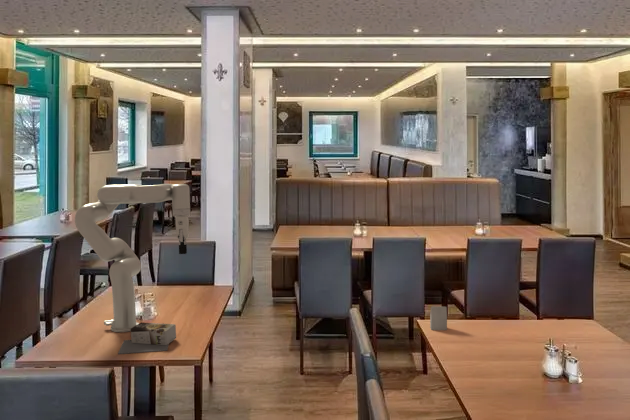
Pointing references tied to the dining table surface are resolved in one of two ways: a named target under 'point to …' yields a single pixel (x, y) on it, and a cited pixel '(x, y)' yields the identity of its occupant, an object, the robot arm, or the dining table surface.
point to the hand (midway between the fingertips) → (183, 253)
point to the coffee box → (153, 333)
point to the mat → (140, 347)
